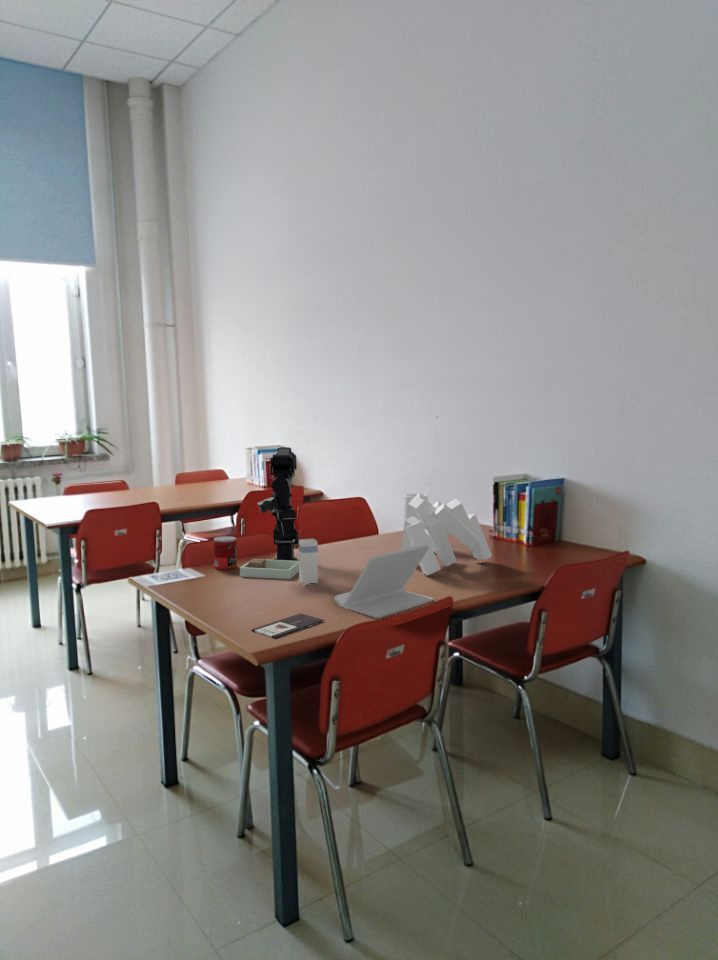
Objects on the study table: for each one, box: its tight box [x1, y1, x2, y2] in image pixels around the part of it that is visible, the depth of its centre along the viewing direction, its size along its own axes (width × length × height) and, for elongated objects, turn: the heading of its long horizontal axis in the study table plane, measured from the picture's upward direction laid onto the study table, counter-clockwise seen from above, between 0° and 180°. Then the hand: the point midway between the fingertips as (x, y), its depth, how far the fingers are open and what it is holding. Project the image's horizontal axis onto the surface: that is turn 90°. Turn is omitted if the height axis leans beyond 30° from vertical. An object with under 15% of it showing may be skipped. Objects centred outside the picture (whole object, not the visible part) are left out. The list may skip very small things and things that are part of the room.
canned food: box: [213, 535, 238, 571], centre depth 252 cm, size 8×8×11 cm
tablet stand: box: [333, 545, 434, 619], centre depth 210 cm, size 18×25×17 cm
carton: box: [298, 538, 319, 585], centre depth 234 cm, size 5×5×14 cm
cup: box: [402, 493, 429, 529], centre depth 287 cm, size 10×10×22 cm
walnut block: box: [248, 558, 267, 568], centre depth 246 cm, size 5×4×4 cm
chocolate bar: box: [251, 613, 325, 639], centre depth 189 cm, size 9×1×18 cm
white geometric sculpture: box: [400, 492, 493, 576], centre depth 254 cm, size 35×30×35 cm
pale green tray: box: [239, 558, 299, 580], centre depth 245 cm, size 14×18×4 cm
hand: (282, 534), depth 249 cm, fingers open, 9 cm apart
